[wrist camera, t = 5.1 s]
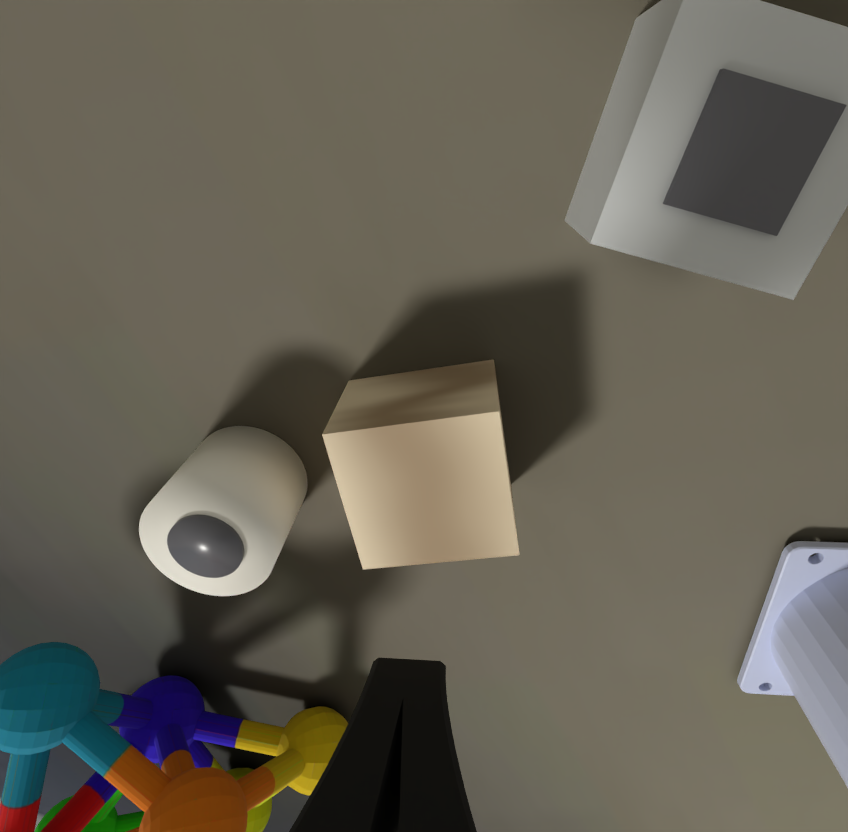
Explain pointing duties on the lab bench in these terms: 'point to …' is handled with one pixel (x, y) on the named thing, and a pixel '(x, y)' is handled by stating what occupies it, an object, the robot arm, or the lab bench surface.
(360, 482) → the beech block
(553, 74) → the lab bench surface
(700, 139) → the grey labelled block
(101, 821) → the molecular model
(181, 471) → the offwhite stopper
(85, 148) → the lab bench surface
